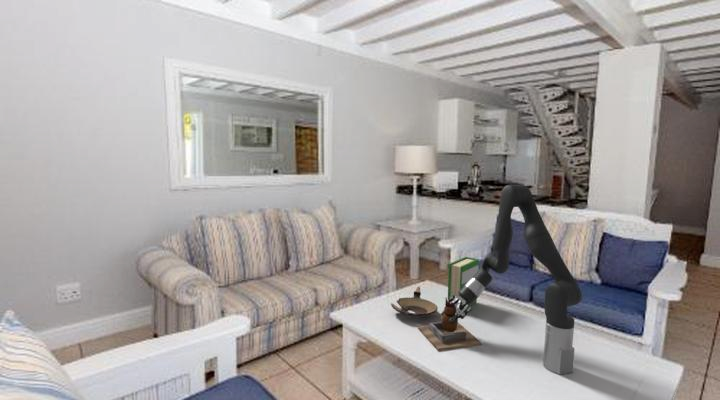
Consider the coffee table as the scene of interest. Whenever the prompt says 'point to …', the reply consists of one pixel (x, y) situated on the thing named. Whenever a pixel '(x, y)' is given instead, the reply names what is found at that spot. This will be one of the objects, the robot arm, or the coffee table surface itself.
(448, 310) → the wooden figurine
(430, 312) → the oil lamp
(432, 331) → the keeper cradle
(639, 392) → the coffee table surface
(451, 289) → the hardback book
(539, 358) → the coffee table surface
